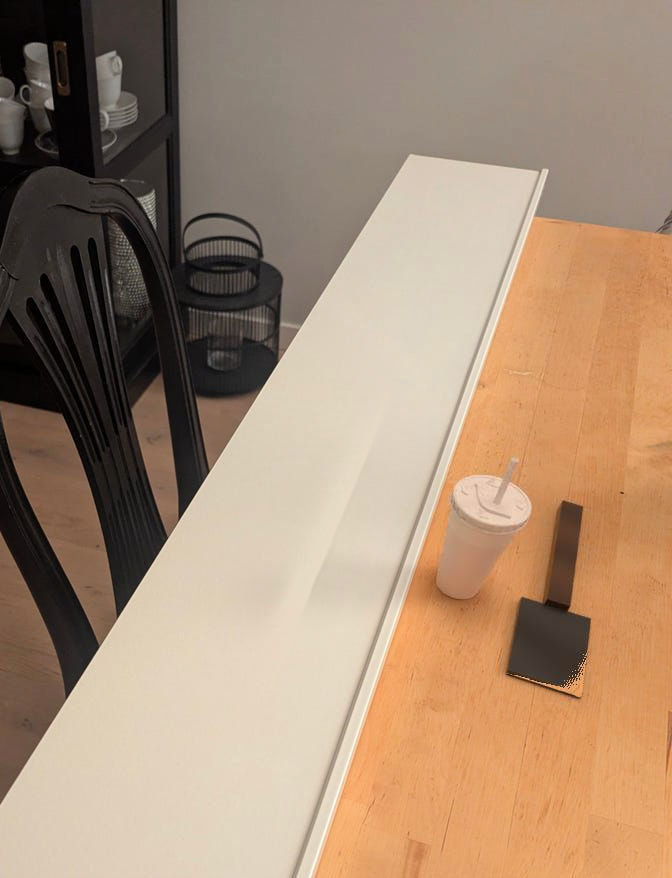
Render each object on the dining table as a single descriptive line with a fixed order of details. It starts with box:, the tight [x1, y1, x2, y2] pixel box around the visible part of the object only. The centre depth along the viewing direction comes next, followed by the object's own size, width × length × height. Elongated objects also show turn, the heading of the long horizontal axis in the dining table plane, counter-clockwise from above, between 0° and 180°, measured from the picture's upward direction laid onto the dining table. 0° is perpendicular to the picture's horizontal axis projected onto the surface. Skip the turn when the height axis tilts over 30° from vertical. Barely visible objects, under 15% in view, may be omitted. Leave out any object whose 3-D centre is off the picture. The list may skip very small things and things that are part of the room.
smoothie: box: [435, 456, 533, 600], centre depth 75 cm, size 6×6×14 cm
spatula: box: [505, 499, 592, 689], centre depth 80 cm, size 24×6×1 cm, turn 159°
